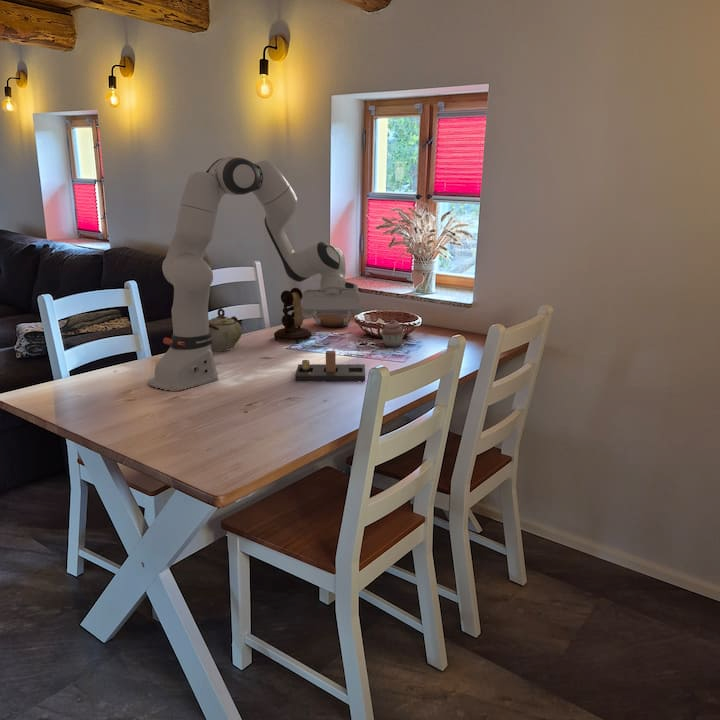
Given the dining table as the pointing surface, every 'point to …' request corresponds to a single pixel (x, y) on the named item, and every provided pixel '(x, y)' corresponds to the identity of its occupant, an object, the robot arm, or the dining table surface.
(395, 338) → the cupcake
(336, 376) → the grey peg board
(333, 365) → the terracotta peg
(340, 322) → the ceramic jug
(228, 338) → the olive green rounded pot
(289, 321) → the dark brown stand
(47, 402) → the dining table surface
